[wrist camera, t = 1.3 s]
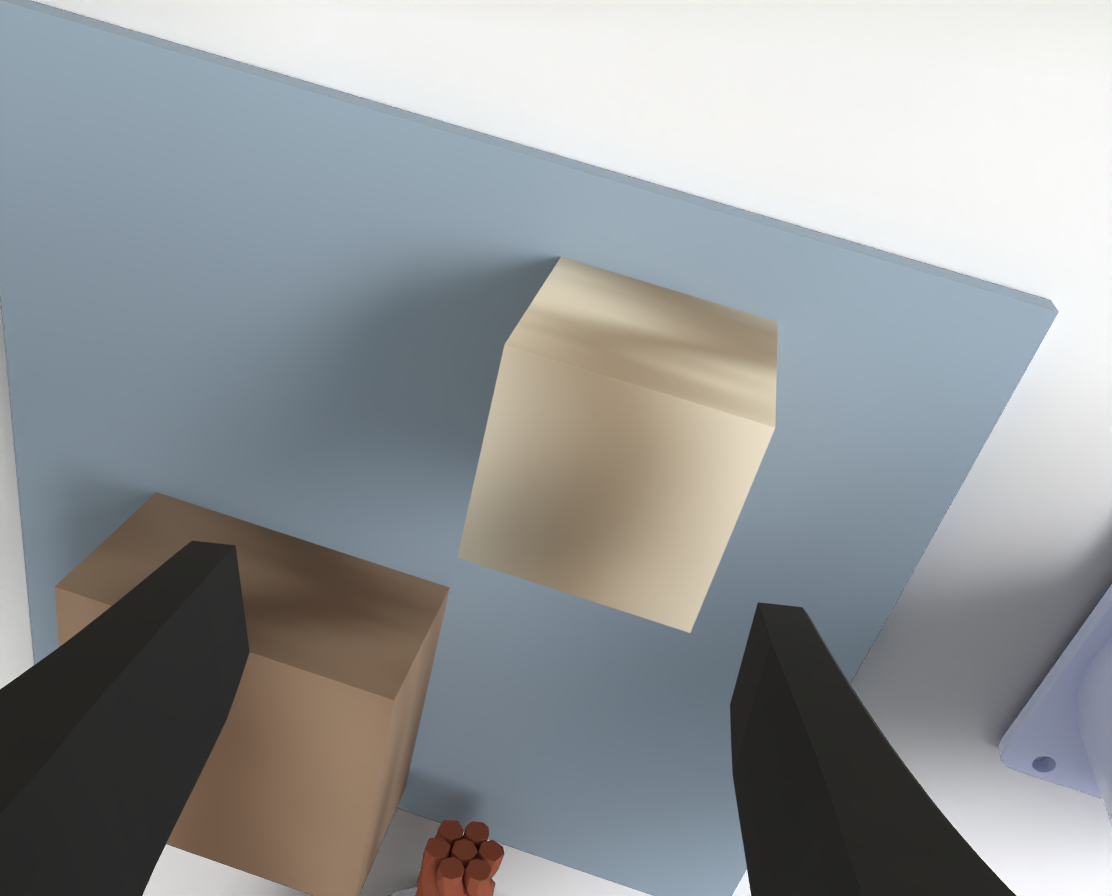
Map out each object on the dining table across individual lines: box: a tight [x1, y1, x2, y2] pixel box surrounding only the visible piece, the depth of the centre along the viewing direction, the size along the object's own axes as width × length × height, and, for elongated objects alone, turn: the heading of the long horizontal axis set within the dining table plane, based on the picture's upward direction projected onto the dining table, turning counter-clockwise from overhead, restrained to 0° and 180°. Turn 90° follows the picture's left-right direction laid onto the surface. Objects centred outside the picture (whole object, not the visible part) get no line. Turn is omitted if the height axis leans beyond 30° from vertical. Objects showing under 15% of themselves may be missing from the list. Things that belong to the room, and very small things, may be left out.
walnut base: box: [55, 492, 450, 896], centre depth 25 cm, size 8×8×4 cm
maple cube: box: [457, 257, 778, 633], centre depth 18 cm, size 4×4×4 cm
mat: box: [0, 0, 1058, 896], centre depth 24 cm, size 22×20×1 cm
